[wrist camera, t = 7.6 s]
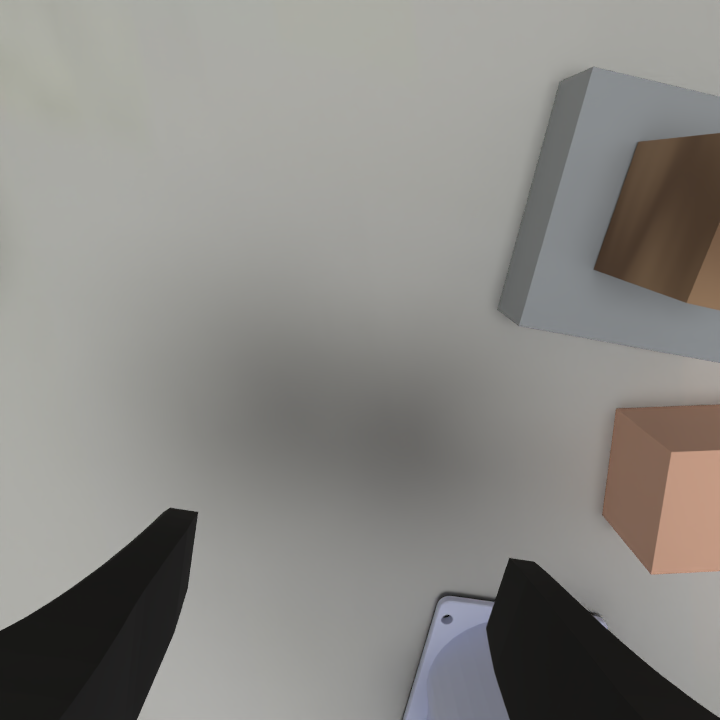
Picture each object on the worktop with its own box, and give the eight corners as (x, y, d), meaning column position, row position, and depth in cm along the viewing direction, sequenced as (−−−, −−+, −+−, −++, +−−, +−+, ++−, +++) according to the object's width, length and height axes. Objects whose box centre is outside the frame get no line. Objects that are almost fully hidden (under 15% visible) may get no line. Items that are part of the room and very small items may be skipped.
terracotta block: (712, 508, 24) (782, 567, 21) (601, 513, 24) (651, 574, 20) (733, 402, 23) (812, 446, 19) (614, 407, 23) (671, 452, 19)
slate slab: (683, 342, 22) (735, 365, 19) (494, 307, 22) (518, 325, 19) (763, 132, 20) (835, 124, 17) (554, 84, 19) (593, 66, 16)
